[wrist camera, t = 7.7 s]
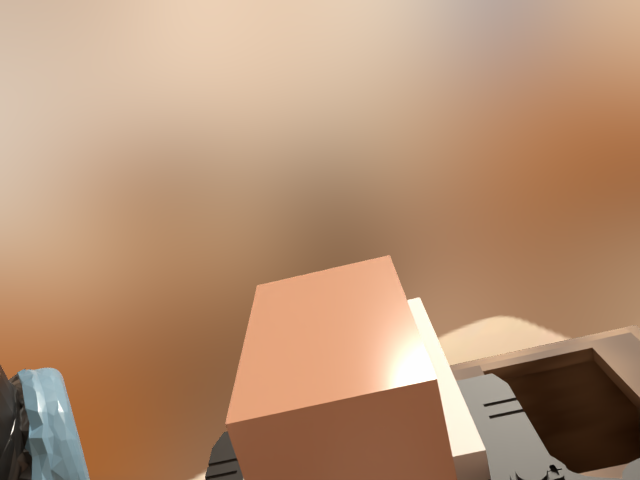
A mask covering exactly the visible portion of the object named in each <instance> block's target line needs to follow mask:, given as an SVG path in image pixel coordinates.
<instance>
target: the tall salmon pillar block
mask: <svg viewBox="0 0 640 480" xmlns="http://www.w3.org/2000/svg"><path fill="white" fill-rule="evenodd" d="M225 425H226V428H227V431H228V434H229V437H230V440H231V443H232V446H233V448H234V451H235V454H236V457H237V460H238V463H239V466H240V469H241V472H242V475H243V478H244V480H457V476H456V471H455V466H454V461H453V456H452V451H451V446H450V441H449V436H448V431H447V426H446V421H445V416H444V411H443V406H442V401H441V396H440V391H439V386H438V381H437V378H436V375H435V372H434V370H433V367H432V364H431V362H430V359H429V357H428V354H427V351H426V349H425V346H424V344H423V341H422V338H421V336H420V333H419V330H418V328H417V325H416V323H415V320H414V317H413V315H412V312H411V310H410V307H409V304H408V302H407V299H406V297H405V294H404V291H403V289H402V286H401V284H400V281H399V278H398V276H397V273H396V270H395V268H394V265H393V262H392V260H391V257H390V255H389V256H384V257H379V258H375V259H371V260H366V261H362V262H358V263H353V264H349V265H345V266H340V267H336V268H331V269H327V270H323V271H318V272H314V273H310V274H306V275H301V276H296V277H292V278H288V279H283V280H279V281H275V282H270V283H266V284H261V285H257V289H256V293H255V298H254V302H253V306H252V311H251V315H250V319H249V323H248V328H247V332H246V336H245V341H244V345H243V349H242V354H241V358H240V362H239V367H238V371H237V376H236V380H235V384H234V389H233V393H232V397H231V402H230V406H229V410H228V414H227V419H226V424H225Z"/></svg>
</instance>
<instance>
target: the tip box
mask: <svg viewBox="0 0 640 480" xmlns="http://www.w3.org/2000/svg"><path fill="white" fill-rule="evenodd" d="M450 368H451V371H452V373H453V375H454V378H455V380H456V381H458V380H463V379H468V378H473V377H477V376H482V375H487V374H491V373H492V374H494V375H495V376H497V377H499V378H500V379H502V380H503V381H505V382H506V383H508V385H509V386H510V388H511V390H512V391H513V393H514V395H515V397H516V399H517V400H518V402H519V403H520V405H521V407H522V409H523V412H525V414H526V415H527V417H528V419H529V421H530V422H531V424H532V426H533V427H534V429H535V431H536V433H537V434H538V436H539V438H540V439H541V441H542V443H543V444H544V446H545V448H546V450H547V451H548V453H549V455H550V456H552V457H554V458H556V459H557V460H559V461H560V462H562V463H563V464H564V465H565V466H566V468H567V469H568V470H570V471H572V472H574V473H578V474H581V475H584V476H591V477H602V478H622V472H623V470H624V469H625V468H626V466H627V465H628V464H629V463H630V462H632V461H634V460H637V459H639V458H640V328H639V327H637V326H636V325H633V326H629V327H624V328H620V329H615V330H610V331H606V332H601V333H597V334H592V335H588V336H583V337H578V338H574V339H569V340H565V341H560V342H555V343H551V344H546V345H542V346H537V347H533V348H528V349H523V350H519V351H514V352H510V353H505V354H500V355H496V356H491V357H487V358H482V359H478V360H473V361H468V362H464V363H459V364H455V365H450Z"/></svg>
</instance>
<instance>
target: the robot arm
mask: <svg viewBox="0 0 640 480" xmlns="http://www.w3.org/2000/svg"><path fill="white" fill-rule="evenodd" d="M407 302H408V304H409V307H410V310H411V312H412V315H413V317H414V320H415V323H416V325H417V328H418V330H419V333H420V336H421V338H422V341H423V344H424V346H425V349H426V351H427V354H428V357H429V359H430V362H431V364H432V367H433V370H434V372H435V375H436V378H437V381H438V386H439V391H440V396H441V401H442V406H443V411H444V416H445V421H446V426H447V431H448V436H449V441H450V446H451V451H452V456H453V461H454V466H455V471H456V476H457V480H640V458H639V459H637V460H634V461H632V462H630V463H629V464H628V465H627V466H626V468H625V469H624V470H623V472H622V478H602V477H591V476H584V475H581V474H578V473H574V472H572V471H570V470H568V469H567V468H566V466H565V465H564V464H563V463H562V462H560V461H559V460H557V459H556V458H554V457H552V456H550V455H549V453H548V451H547V450H546V448H545V446H544V444H543V443H542V441H541V439H540V438H539V436H538V434H537V433H536V431H535V429H534V427H533V426H532V424H531V422H530V421H529V419H528V417H527V415H526V414H525V412H523V409H522V407H521V405H520V403H519V402H518V400H517V399H516V397H515V395H514V393H513V391H512V390H511V388H510V386H509V385H508V383H506V382H505V381H503V380H502V379H500V378H499V377H497V376H495V375H494V374H492V373H491V374H487V375H482V376H477V377H473V378H468V379H463V380H458V381H456V380H455V378H454V375H453V373H452V371H451V368H450V366H449V364H448V362H447V359H446V357H445V355H444V352H443V350H442V348H441V345H440V343H439V341H438V338H437V336H436V334H435V332H434V329H433V327H432V325H431V322H430V320H429V318H428V315H427V313H426V311H425V308H424V306H423V304H422V302H421V299H420V298H415V299H411V300H407ZM205 478H206V480H244V478H243V475H242V472H241V469H240V466H239V463H238V460H237V457H236V454H235V451H234V448H233V446H232V443H231V440H230V437H229V434H228V431H227V432H224V433H223V434H222V436H221V437H220V438H219V440H218V441H217V442H216V444H215V445H214V447H213V448H212V452H211V456H210V460H209V467H208V468H207V472H206V476H205ZM0 480H90V479H89V474H88V471H87V467H86V463H85V459H84V455H83V451H82V448H81V444H80V440H79V436H78V433H77V429H76V425H75V421H74V418H73V414H72V410H71V406H70V402H69V398H68V395H67V391H66V388H65V384H64V380H63V377H62V375H61V373H60V372H59V371H58V370H56V369H53V368H41V369H37V370H31V369H30V370H25V369H24V370H22V371H19V372H18V373H17V374H16V375H15V376H14V377H12V378H11V379H10V380H8V379H7V377H6V375H5V373H4V371H3V369H2V367H1V365H0Z"/></svg>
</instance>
